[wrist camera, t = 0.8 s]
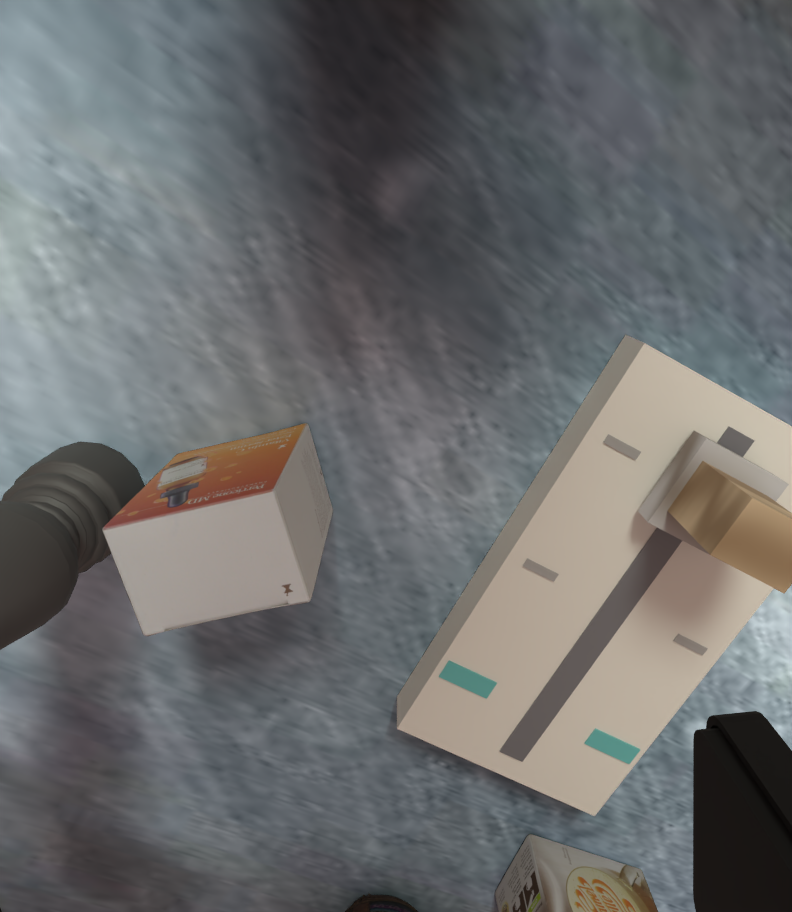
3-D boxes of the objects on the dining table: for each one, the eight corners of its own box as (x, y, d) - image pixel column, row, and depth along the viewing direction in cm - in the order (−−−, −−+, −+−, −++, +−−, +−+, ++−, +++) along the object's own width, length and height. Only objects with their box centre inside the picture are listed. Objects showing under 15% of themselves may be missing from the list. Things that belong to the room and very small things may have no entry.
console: (625, 334, 37) (645, 343, 34) (833, 451, 39) (868, 470, 36) (397, 696, 44) (397, 729, 41) (582, 780, 46) (595, 817, 43)
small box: (309, 420, 39) (278, 487, 29) (335, 511, 40) (315, 603, 30) (173, 452, 39) (96, 528, 29) (204, 540, 41) (141, 640, 31)
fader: (693, 430, 35) (757, 473, 29) (773, 474, 36) (852, 524, 30) (637, 511, 36) (687, 568, 30) (715, 551, 37) (779, 615, 31)
